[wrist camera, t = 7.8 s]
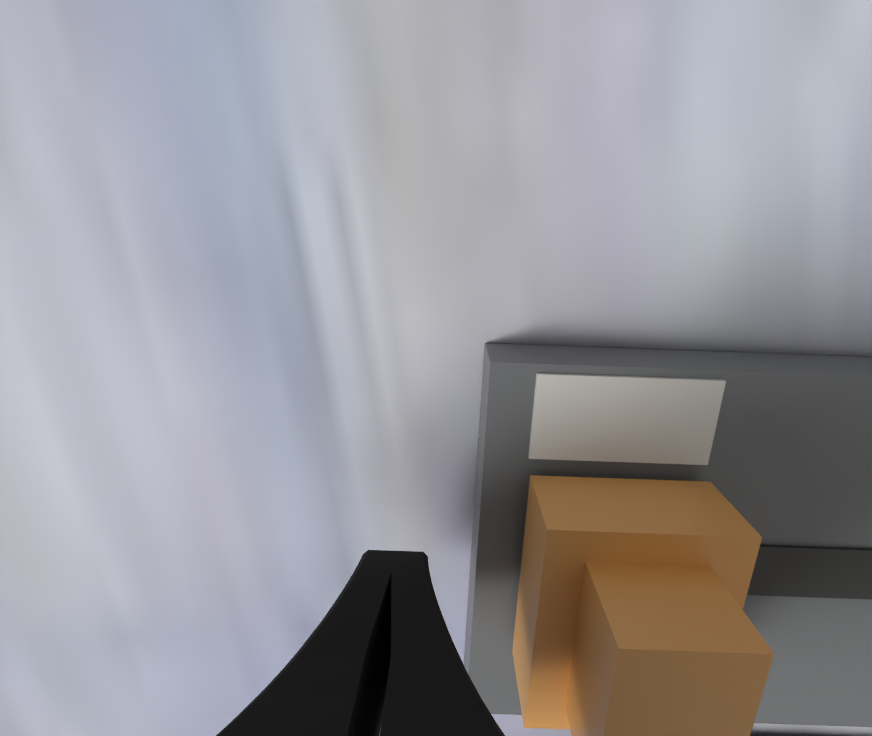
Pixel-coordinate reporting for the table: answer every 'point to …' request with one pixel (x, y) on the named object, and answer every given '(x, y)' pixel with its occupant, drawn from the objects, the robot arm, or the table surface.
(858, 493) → the breaker panel
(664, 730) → the breaker toggle
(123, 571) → the table surface
